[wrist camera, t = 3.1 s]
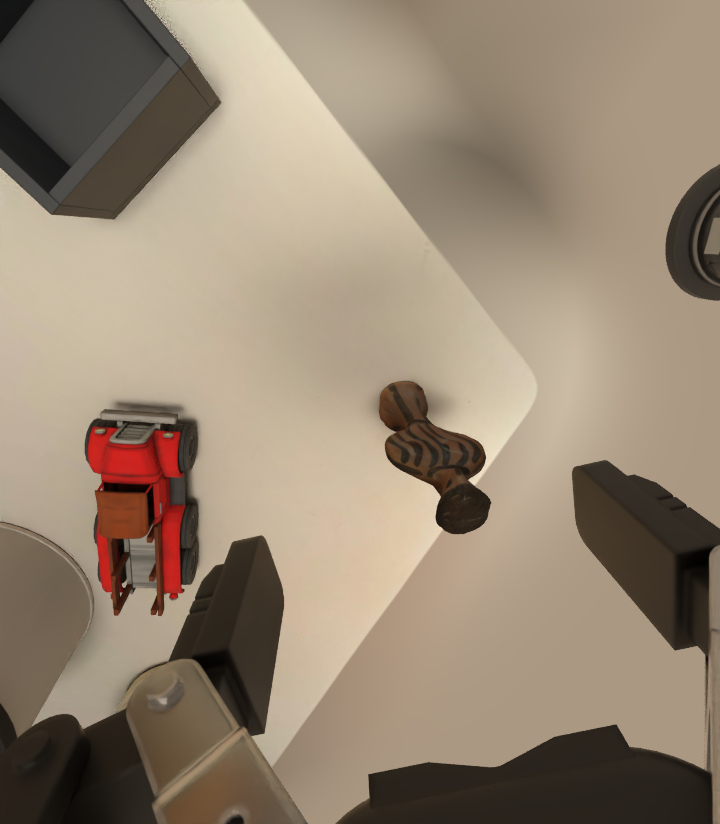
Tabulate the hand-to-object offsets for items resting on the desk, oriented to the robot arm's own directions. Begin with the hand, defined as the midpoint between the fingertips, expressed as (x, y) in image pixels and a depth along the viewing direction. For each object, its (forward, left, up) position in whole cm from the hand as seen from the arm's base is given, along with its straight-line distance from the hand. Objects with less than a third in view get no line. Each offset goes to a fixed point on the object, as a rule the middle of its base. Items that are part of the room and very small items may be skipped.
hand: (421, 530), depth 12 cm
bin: (+2, -23, -29) cm, 37 cm away
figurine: (+1, +10, -30) cm, 31 cm away
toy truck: (+24, 0, -30) cm, 38 cm away
